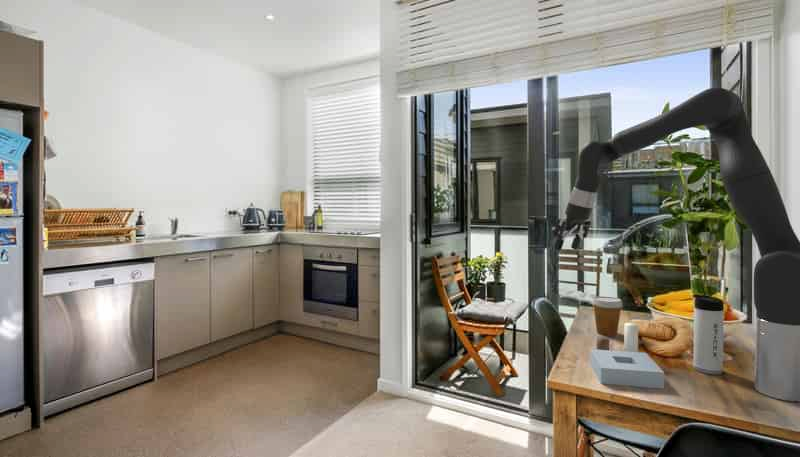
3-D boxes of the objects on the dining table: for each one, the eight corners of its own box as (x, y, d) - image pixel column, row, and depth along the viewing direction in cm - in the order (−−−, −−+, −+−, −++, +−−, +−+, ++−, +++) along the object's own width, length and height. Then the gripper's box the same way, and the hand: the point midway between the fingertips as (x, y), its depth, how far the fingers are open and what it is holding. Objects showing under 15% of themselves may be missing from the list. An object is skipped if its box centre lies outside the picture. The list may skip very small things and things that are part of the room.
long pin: (635, 357, 121) (636, 323, 120) (639, 361, 118) (639, 326, 117) (622, 356, 122) (623, 322, 121) (626, 360, 118) (626, 325, 118)
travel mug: (694, 363, 115) (695, 292, 114) (724, 370, 110) (725, 295, 110) (689, 370, 111) (690, 296, 110) (720, 377, 106) (722, 299, 105)
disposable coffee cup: (623, 331, 146) (623, 297, 145) (621, 339, 138) (622, 303, 137) (593, 327, 151) (593, 295, 150) (590, 335, 142) (590, 300, 142)
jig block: (645, 367, 113) (645, 352, 113) (664, 388, 100) (664, 372, 100) (589, 363, 117) (590, 349, 117) (600, 383, 103) (601, 367, 103)
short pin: (607, 353, 125) (607, 336, 124) (610, 357, 121) (610, 340, 121) (595, 352, 125) (595, 336, 125) (597, 356, 122) (598, 339, 122)
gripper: (576, 206, 128) (561, 254, 133) (604, 207, 135) (588, 252, 140) (557, 199, 134) (543, 245, 139) (584, 200, 141) (570, 244, 146)
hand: (565, 249), depth 139 cm, fingers open, 8 cm apart
